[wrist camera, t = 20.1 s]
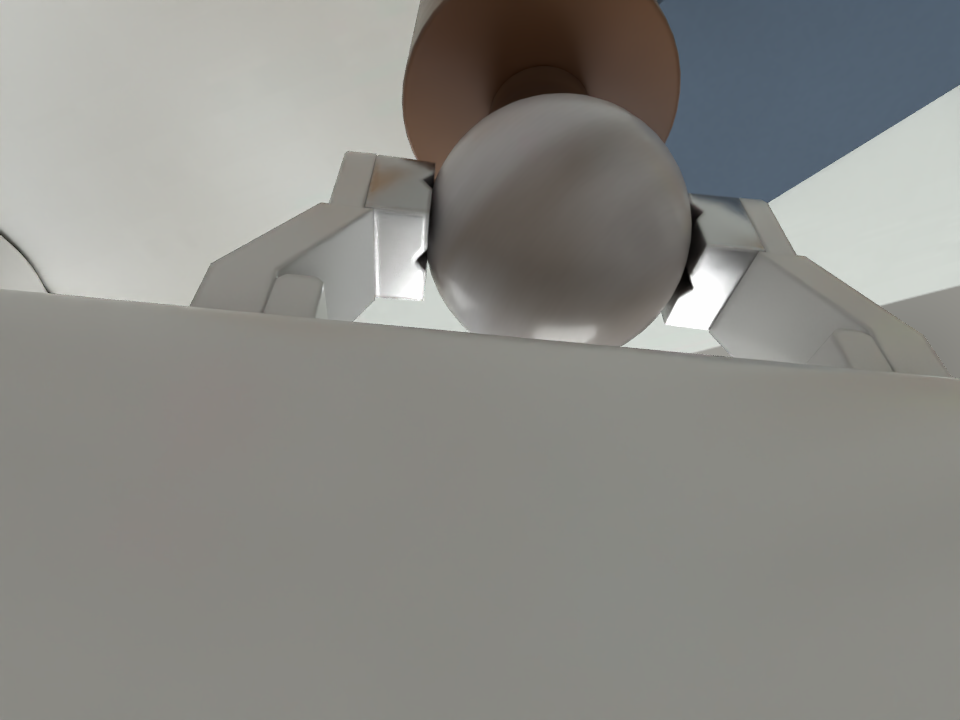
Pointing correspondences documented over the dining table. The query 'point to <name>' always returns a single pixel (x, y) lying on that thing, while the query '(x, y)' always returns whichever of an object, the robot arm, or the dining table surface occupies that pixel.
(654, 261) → the salt mill
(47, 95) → the dining table surface
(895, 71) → the placemat
